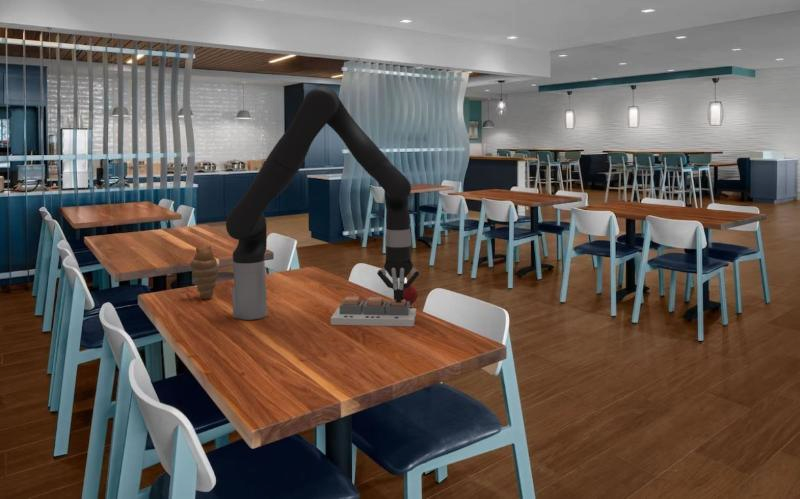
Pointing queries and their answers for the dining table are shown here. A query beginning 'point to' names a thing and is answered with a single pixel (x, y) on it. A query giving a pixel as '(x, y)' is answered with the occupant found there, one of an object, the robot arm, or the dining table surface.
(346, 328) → the dining table surface
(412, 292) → the onion
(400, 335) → the dining table surface
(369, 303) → the button three
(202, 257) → the cat ice cream
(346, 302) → the button two
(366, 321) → the button panel
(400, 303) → the button one
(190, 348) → the dining table surface
